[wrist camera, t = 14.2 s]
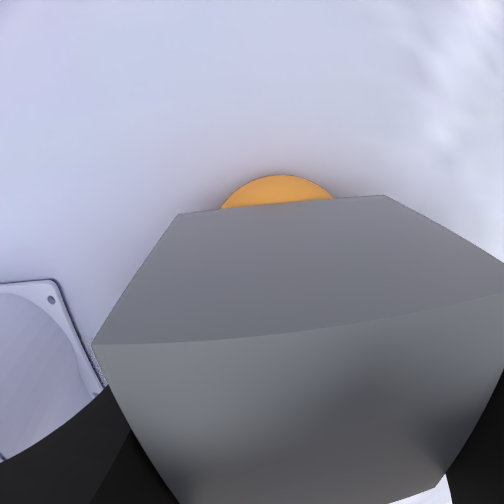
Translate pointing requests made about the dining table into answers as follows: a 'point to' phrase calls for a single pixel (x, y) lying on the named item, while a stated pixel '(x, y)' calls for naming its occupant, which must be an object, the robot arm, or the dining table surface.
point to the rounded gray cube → (306, 352)
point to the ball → (275, 191)
